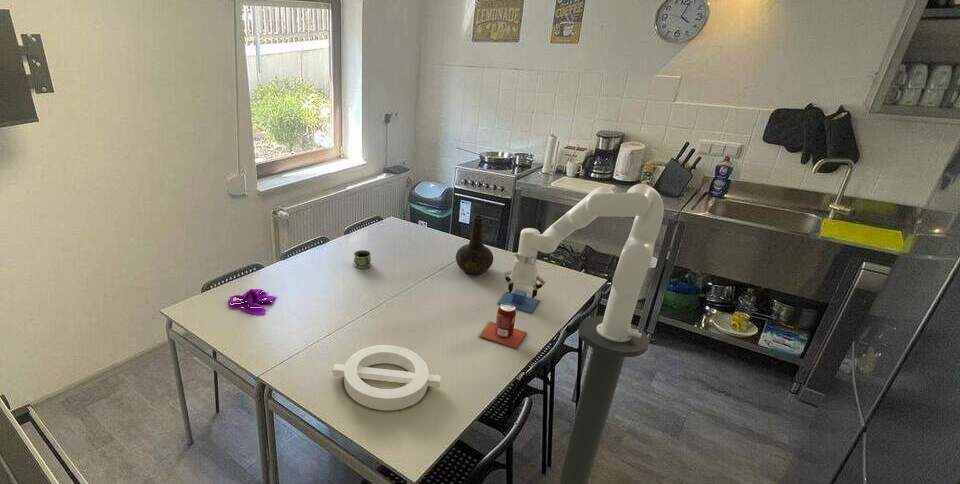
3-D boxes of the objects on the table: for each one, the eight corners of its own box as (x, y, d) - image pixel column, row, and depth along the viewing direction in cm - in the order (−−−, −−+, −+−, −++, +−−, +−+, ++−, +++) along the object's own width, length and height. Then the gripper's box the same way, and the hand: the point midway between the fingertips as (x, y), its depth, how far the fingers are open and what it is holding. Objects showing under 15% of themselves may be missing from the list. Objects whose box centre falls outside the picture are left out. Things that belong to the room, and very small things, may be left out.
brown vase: (491, 264, 246) (498, 211, 234) (491, 280, 230) (499, 224, 218) (455, 260, 250) (460, 208, 237) (453, 276, 234) (458, 221, 222)
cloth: (220, 302, 212) (218, 290, 209) (254, 287, 224) (253, 275, 222) (252, 320, 199) (250, 307, 196) (286, 303, 211) (286, 290, 208)
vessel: (376, 266, 243) (377, 255, 241) (363, 271, 238) (363, 259, 236) (361, 258, 252) (361, 247, 249) (348, 263, 247) (348, 251, 244)
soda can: (507, 340, 185) (511, 313, 179) (491, 334, 189) (495, 307, 184) (515, 333, 189) (520, 306, 184) (499, 327, 193) (503, 300, 188)
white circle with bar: (328, 374, 168) (328, 363, 166) (392, 346, 182) (392, 336, 180) (377, 423, 147) (377, 411, 145) (445, 387, 162) (446, 376, 160)
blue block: (525, 300, 212) (526, 291, 210) (522, 305, 208) (523, 295, 206) (514, 297, 214) (516, 288, 212) (511, 302, 211) (513, 293, 209)
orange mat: (525, 333, 190) (525, 331, 190) (516, 348, 181) (516, 347, 181) (490, 322, 197) (490, 321, 197) (480, 337, 188) (480, 335, 188)
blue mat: (538, 301, 213) (538, 300, 212) (531, 313, 204) (531, 312, 203) (506, 292, 219) (506, 291, 219) (498, 304, 210) (498, 303, 210)
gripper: (503, 257, 203) (499, 293, 211) (546, 265, 195) (540, 303, 202) (508, 250, 209) (504, 286, 216) (550, 258, 201) (544, 295, 208)
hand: (522, 294), depth 209 cm, fingers open, 9 cm apart
